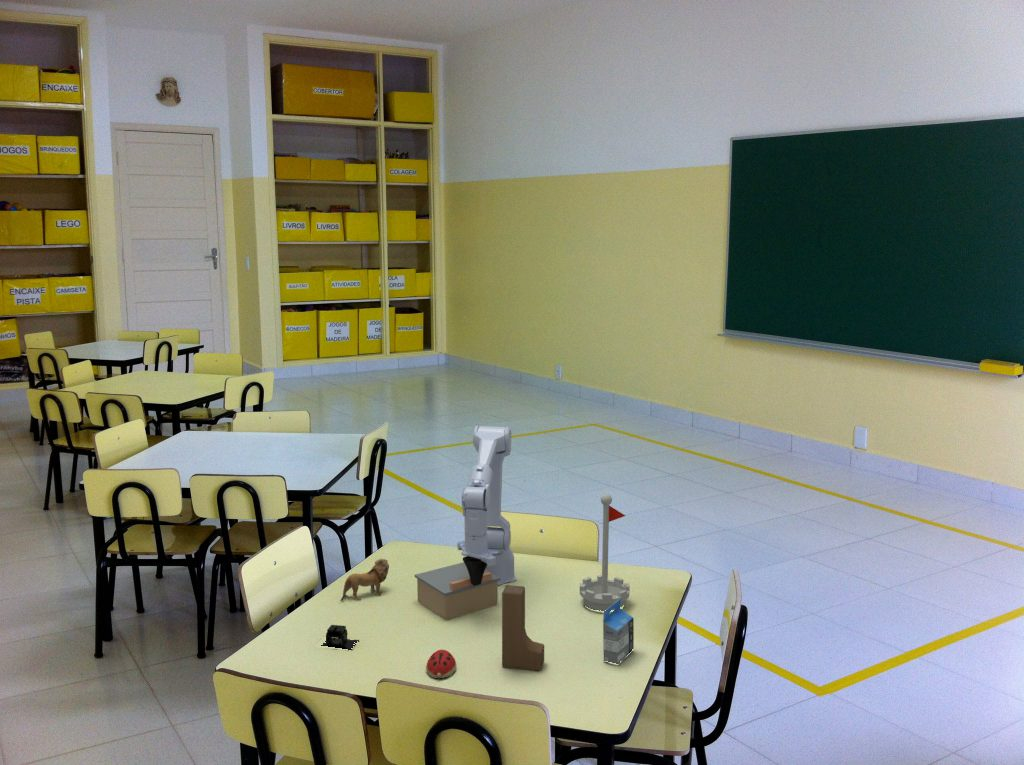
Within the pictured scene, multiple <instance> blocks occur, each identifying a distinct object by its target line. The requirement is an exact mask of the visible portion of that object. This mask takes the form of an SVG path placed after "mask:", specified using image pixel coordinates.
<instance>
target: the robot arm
mask: <svg viewBox="0 0 1024 765" xmlns="http://www.w3.org/2000/svg"><path fill="white" fill-rule="evenodd" d="M472 444H473V447H474V448H475V450H476V452H477V460H476V464H475V465H473V466H472V467H471V470H470V473H469V477H468V481H467V484H466V487H464V488H463V489H462V492H461V507H462V516H463V517H464V540H461V541H458V542H457V544H456V546H457V548H456V549H457V550H458V551H461V552H460V553H461V556H463V557H462V562H464V563H465V565H466V567H467V570H468V573H469V576H470V580H471V584H472V585H474V586H476V585H480V584H481V582H482V578H483V574H484V571H485V570H486V571H488V572H490V573H492V574H494V575H495V576H497V577H499V578H500V581H498V586H500V585H503V584H507V583H510V582H514V581H516V580H517V579H516V577H515V555H514V552H513V550H512V549H511V547H510V546H511V543H512V541H511V540H512V532H511V524H510V522H509V520H507V519H506V518H505V517H504V516H502V512H501V511H502V492H503V491H502V488H503V487H502V485H503V464H504V460H505V457H508V456H510V455H511V451H512V430H511V428H510V427H509V426H484V425H483V426H482V425H475V427H474V428H473V434H472Z"/></svg>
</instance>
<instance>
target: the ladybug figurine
mask: <svg viewBox="0 0 1024 765" xmlns="http://www.w3.org/2000/svg"><path fill="white" fill-rule="evenodd" d="M425 669H426V673H427V674H428V676H430V677H432V678H434V679H437V678H442V679H445V677H446V678H449V677H450V676H452V675H453V674H455V672H456V670H457V662H456V659H455V657H454V655H452V653H451V652H450V651H449V650H446V649H441V648H440V649H438V650H436V651H435V652H433V653H432V654H431V655H430V656H429V658H428V659H427V662H426V666H425ZM448 676H449V677H448Z"/></svg>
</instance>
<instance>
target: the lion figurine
mask: <svg viewBox="0 0 1024 765" xmlns="http://www.w3.org/2000/svg"><path fill="white" fill-rule="evenodd" d="M389 568H390V565H389V563H388V559H386V558H378V559H377V560H375V561H374V565H373V566H372V567H371V569H370V570H369V571H367V572H364V573H355V572H354V573H352V574H350V575H349V576H347V578H346V580H345V581H344V586H343V591H342V597H341V599H340V600H339V601H340V602H341V601H344V600H345V599H348V597H349V595H348V594H347V592H348V591H350V590H351V589H352V596H353V598H354V599H355V600H356V601H361V600H362V598H361V596H358V590H359V588H360V586H361V587H365V588H366V587H369V586H370V593H372V592H374V593H376V594H377V596H382V595H381V594H382V592H381V583H383V582H385V580H387V576H388V574H389Z"/></svg>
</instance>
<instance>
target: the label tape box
mask: <svg viewBox="0 0 1024 765" xmlns="http://www.w3.org/2000/svg"><path fill="white" fill-rule="evenodd" d="M620 603H621V599H620V600H618V601H617V602H615V603H614V604H613V605H612V606H610V607H609V608H608V609H607V610H606V611H604V613H603V619H602V624H603V625H602V634H603V635H602V639H603V640H602V643H603V644H602V645H603V647H602V648H603V662H604V661H608V662H612V663H616V664H619V663H620V661H622V660H623V659H624V658H625V657H626V656H627V655H628V654H629V653H630V652H631V651H632V649H634V647H635V644H634V640H635V637H634V636H635V635H634V631H635V630H634V628H635V626H634V623H635V622H634V621H635V620H634V617H633V616H632V615H630V614H629V613H627V612H626V611H625V610H624V609H620ZM612 608H613V609H614V608H615V609H614V611H613V612H611V613H609V612H610V611H611V610H612ZM634 650H635V649H634ZM632 652H633V651H632ZM632 652H631V653H632ZM631 653H630V654H631ZM630 654H629V655H630ZM629 655H628V656H629ZM628 656H627V657H628ZM627 657H626V658H627ZM626 658H625V659H626ZM625 659H624V660H625ZM624 660H623V661H624ZM623 661H622V662H623ZM620 664H621V663H620ZM620 664H619V665H620Z"/></svg>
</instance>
